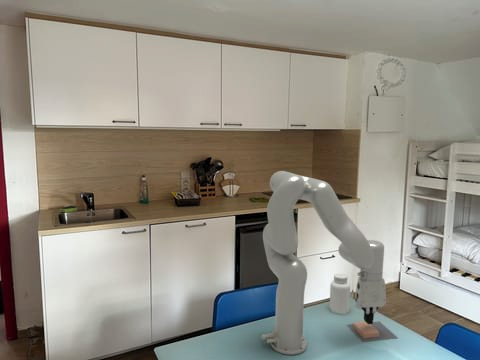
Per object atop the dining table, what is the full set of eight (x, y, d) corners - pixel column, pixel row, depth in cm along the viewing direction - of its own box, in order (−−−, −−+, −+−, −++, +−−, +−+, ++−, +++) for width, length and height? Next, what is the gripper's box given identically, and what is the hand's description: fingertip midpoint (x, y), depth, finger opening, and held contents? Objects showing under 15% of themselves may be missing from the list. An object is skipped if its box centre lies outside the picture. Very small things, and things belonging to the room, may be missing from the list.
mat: (362, 343, 130) (362, 342, 130) (346, 325, 142) (346, 324, 141) (398, 339, 133) (398, 338, 133) (379, 322, 144) (379, 321, 144)
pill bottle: (336, 303, 159) (338, 270, 157) (353, 311, 153) (355, 276, 151) (325, 309, 154) (326, 275, 152) (341, 317, 148) (343, 281, 146)
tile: (379, 336, 133) (363, 338, 132) (367, 325, 141) (352, 327, 140) (379, 332, 133) (364, 333, 132) (367, 321, 141) (353, 322, 140)
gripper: (357, 280, 129) (354, 329, 131) (396, 277, 132) (392, 325, 134) (347, 272, 136) (344, 319, 138) (383, 269, 139) (380, 315, 141)
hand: (368, 322), depth 136 cm, fingers closed
